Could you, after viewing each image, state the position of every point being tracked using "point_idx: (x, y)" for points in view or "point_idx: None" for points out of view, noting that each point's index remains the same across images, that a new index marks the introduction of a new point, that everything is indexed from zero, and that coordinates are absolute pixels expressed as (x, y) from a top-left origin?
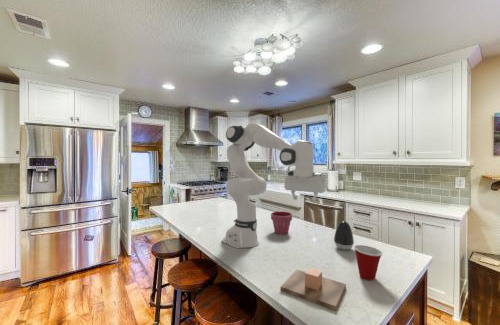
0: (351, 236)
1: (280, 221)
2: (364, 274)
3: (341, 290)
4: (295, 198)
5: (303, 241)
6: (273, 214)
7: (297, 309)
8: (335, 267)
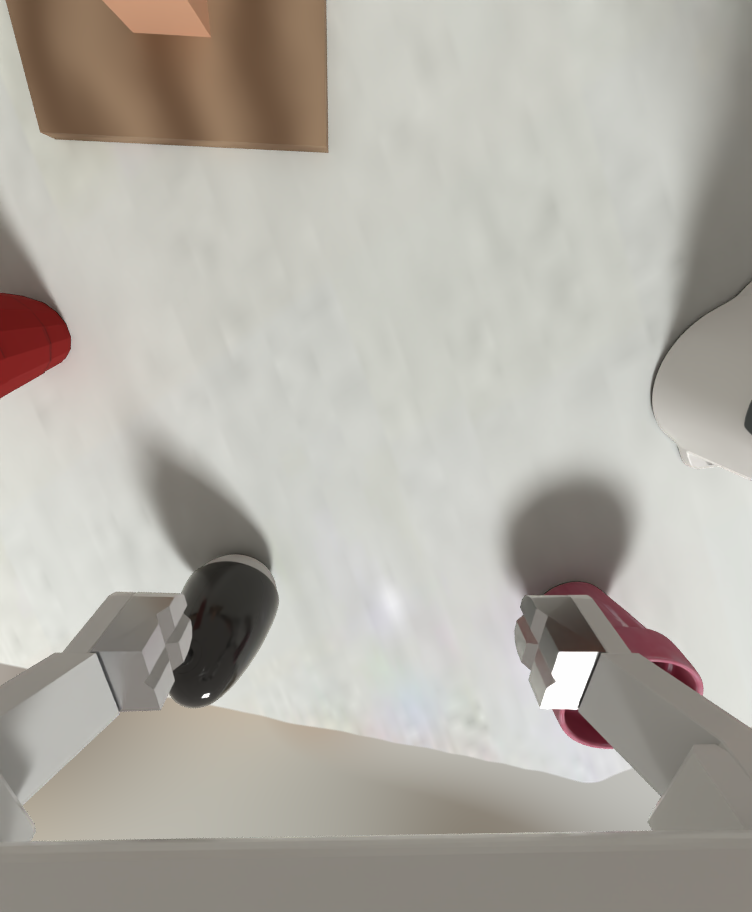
0: None
1: None
2: (11, 295)
3: (19, 25)
4: (546, 607)
5: (430, 557)
6: None
7: None
8: (191, 350)
